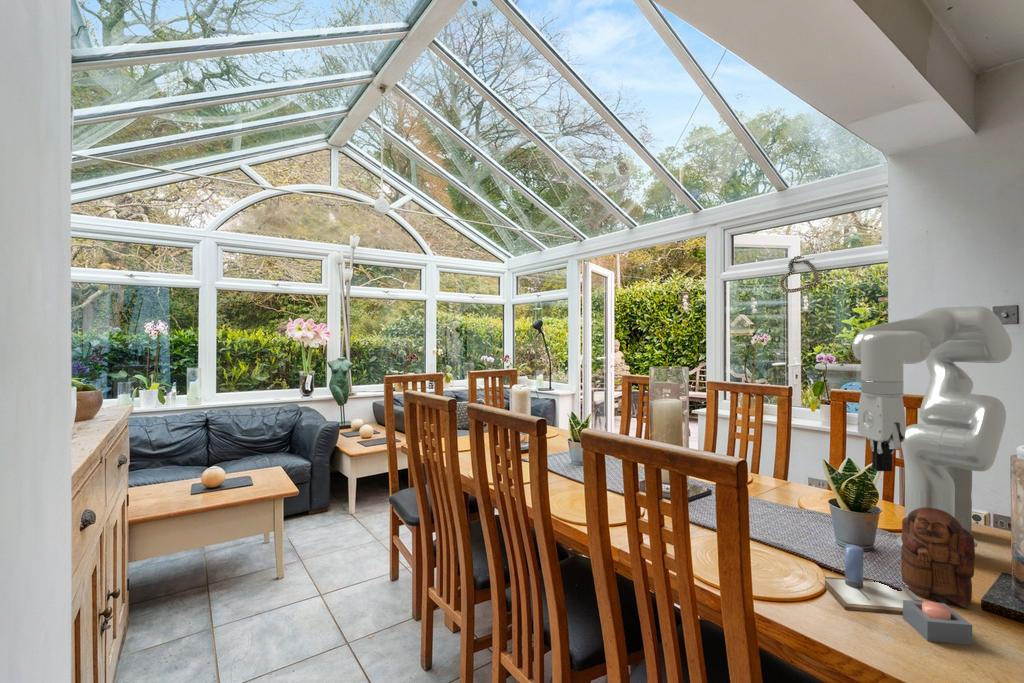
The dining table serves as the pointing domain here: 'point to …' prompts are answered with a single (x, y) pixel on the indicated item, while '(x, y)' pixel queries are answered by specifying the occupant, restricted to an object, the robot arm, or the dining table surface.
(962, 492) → the thermos bottle
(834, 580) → the clipboard
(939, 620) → the button housing
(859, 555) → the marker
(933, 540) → the wooden figurine
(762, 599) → the dining table surface
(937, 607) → the button
